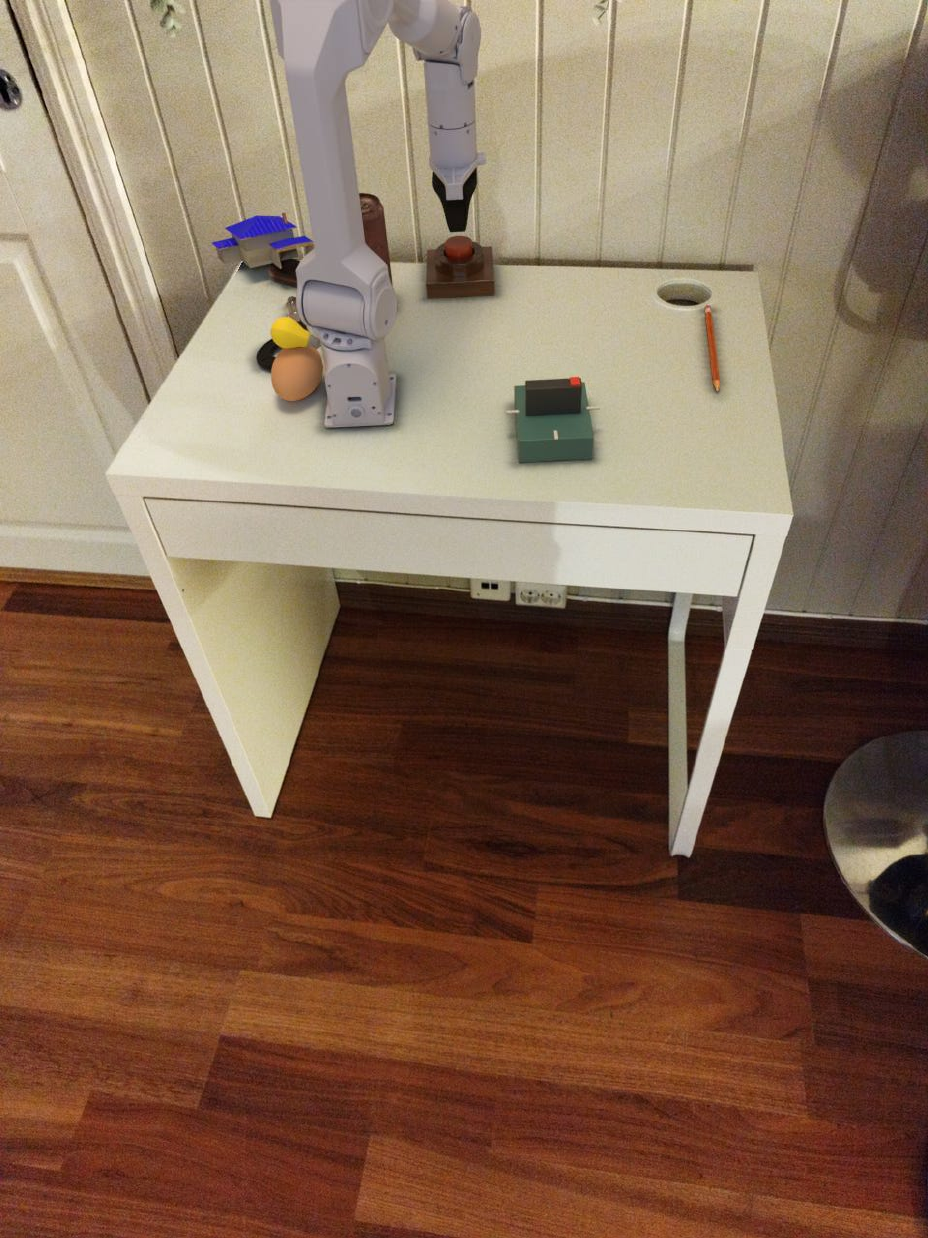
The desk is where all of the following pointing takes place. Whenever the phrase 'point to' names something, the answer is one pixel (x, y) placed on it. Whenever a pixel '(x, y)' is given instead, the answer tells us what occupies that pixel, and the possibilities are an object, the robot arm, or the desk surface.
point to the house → (261, 242)
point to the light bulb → (292, 335)
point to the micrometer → (270, 346)
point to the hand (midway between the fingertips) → (457, 229)
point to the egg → (296, 372)
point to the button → (458, 247)
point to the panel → (553, 432)
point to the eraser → (285, 271)
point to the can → (375, 227)
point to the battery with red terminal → (553, 396)
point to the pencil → (712, 347)
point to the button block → (460, 273)
